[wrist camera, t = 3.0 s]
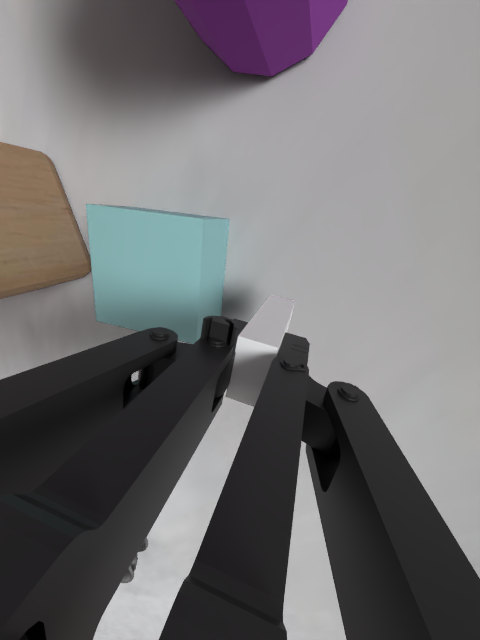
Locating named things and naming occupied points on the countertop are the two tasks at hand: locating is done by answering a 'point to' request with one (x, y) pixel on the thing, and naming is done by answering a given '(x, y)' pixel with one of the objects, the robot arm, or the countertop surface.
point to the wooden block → (36, 225)
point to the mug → (261, 30)
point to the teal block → (156, 268)
